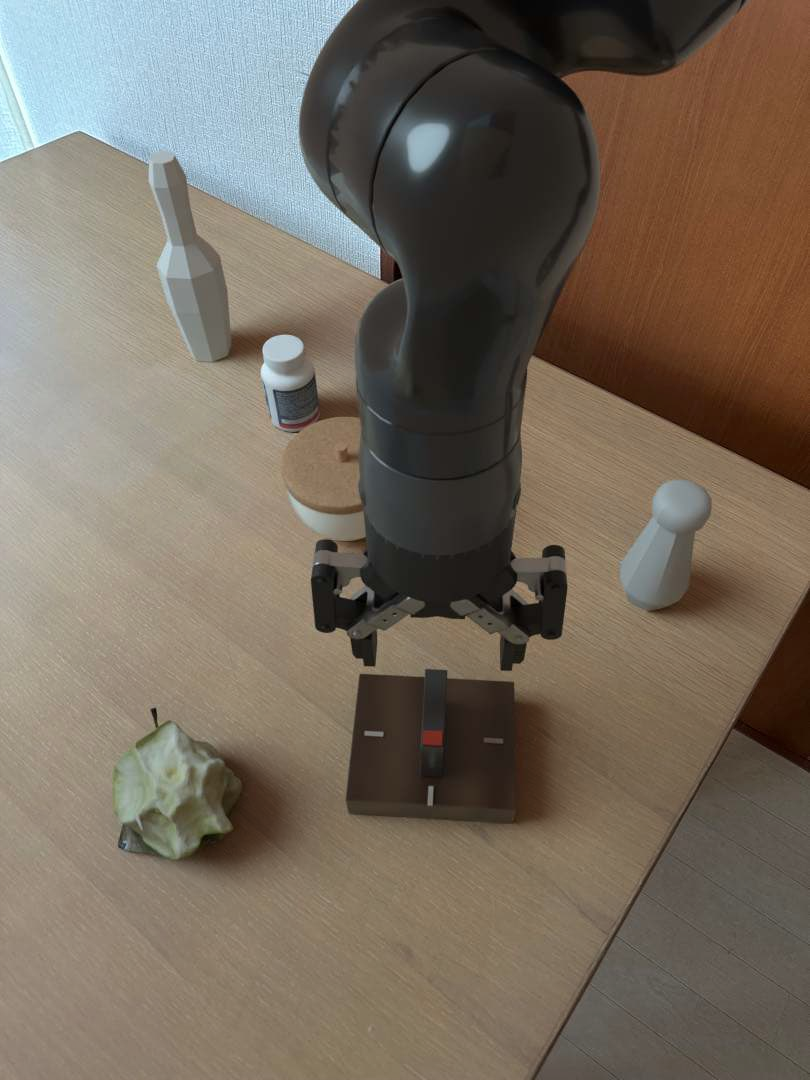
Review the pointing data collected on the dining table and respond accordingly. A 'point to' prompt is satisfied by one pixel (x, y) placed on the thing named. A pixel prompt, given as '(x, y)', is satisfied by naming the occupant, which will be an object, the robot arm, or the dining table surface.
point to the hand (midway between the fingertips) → (437, 656)
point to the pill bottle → (289, 384)
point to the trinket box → (326, 478)
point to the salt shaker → (665, 546)
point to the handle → (433, 723)
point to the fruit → (172, 794)
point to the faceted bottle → (189, 266)
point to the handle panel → (469, 751)
